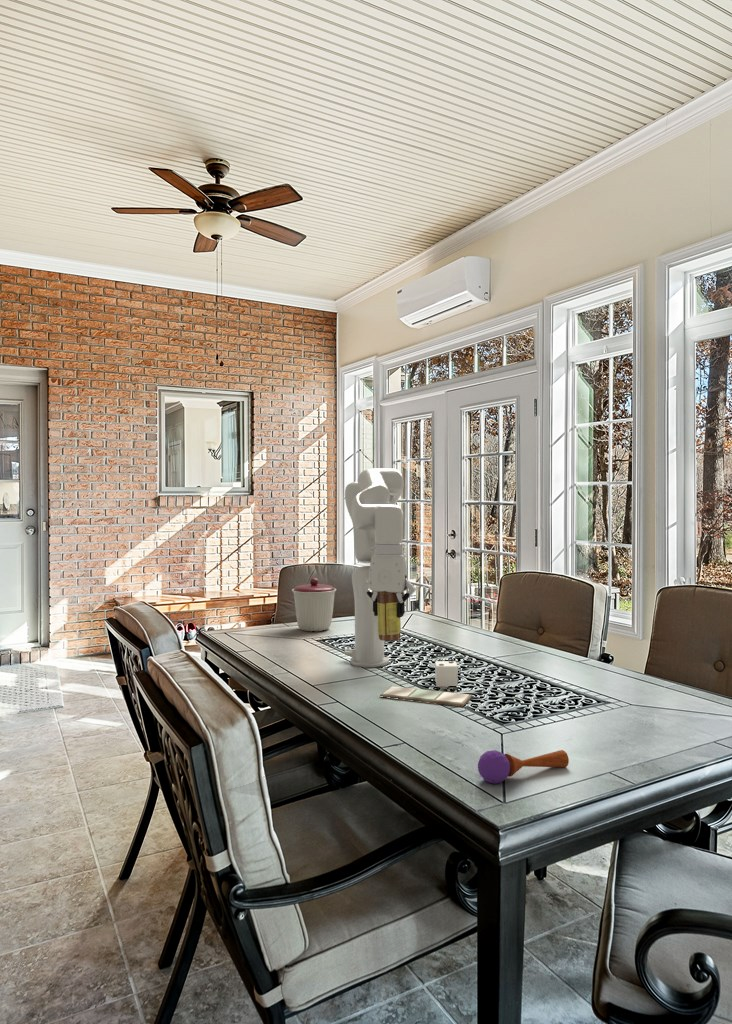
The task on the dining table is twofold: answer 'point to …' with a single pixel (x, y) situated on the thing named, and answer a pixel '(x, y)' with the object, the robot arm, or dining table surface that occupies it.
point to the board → (427, 696)
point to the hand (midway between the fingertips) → (388, 615)
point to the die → (446, 673)
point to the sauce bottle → (388, 616)
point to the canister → (314, 605)
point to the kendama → (515, 764)
